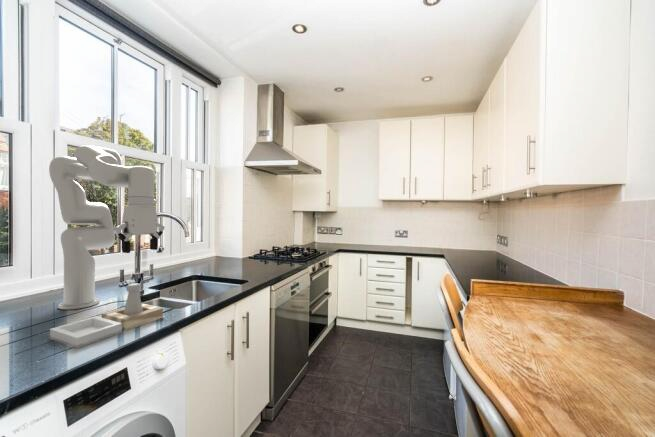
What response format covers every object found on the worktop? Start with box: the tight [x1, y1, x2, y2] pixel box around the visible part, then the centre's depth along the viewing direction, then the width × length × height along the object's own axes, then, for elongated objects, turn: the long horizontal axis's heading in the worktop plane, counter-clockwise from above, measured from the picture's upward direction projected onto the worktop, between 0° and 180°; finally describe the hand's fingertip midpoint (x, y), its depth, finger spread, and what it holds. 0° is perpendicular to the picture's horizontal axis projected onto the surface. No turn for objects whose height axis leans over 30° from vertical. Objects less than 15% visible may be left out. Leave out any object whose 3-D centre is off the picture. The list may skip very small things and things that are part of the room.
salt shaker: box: [124, 282, 143, 316], centre depth 101 cm, size 6×6×13 cm
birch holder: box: [101, 302, 164, 331], centre depth 101 cm, size 13×13×4 cm
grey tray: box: [49, 315, 123, 349], centre depth 88 cm, size 14×12×3 cm
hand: (140, 251), depth 100 cm, fingers open, 9 cm apart
